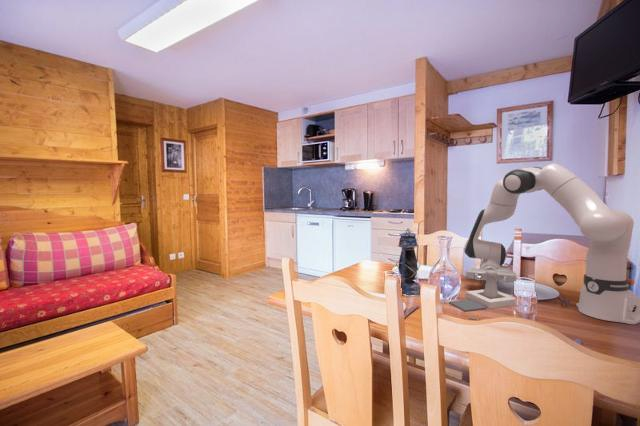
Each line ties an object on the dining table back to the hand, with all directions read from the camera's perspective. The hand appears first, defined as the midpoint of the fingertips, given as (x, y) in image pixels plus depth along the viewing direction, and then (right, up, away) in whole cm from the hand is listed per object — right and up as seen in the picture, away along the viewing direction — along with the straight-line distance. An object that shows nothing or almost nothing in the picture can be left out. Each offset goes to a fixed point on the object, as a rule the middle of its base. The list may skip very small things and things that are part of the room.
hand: (490, 279), depth 137 cm
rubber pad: (-16, -9, -10) cm, 21 cm away
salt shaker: (-3, -8, -5) cm, 10 cm away
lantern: (-34, -8, +9) cm, 36 cm away
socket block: (-3, -8, -5) cm, 10 cm away
